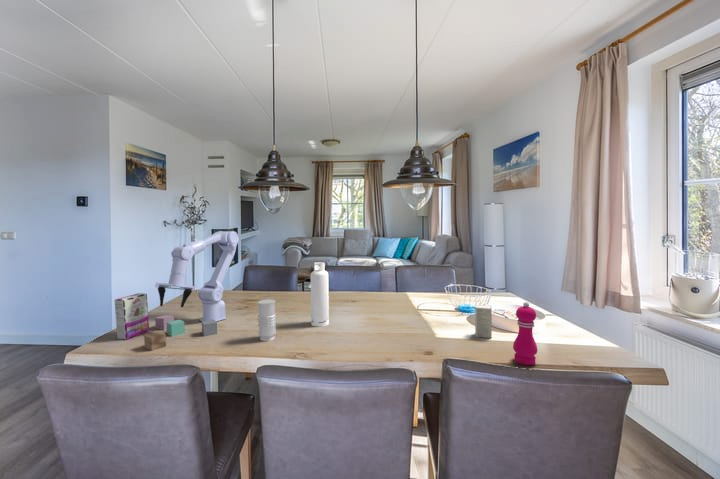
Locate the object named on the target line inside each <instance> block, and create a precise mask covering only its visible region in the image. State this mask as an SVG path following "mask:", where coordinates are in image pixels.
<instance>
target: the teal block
mask: <svg viewBox="0 0 720 479" xmlns="http://www.w3.org/2000/svg"><path fill="white" fill-rule="evenodd" d="M185 332H186V330H185V321H184V320H181V319H174V321H170V322H167V329H166V334H167V335H168V334H169V336H170V335H171V336H170V337H175V335H176V336H179V334H180V335H183V333H184V334H185Z"/></svg>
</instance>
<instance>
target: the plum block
mask: <svg viewBox="0 0 720 479" xmlns="http://www.w3.org/2000/svg"><path fill="white" fill-rule="evenodd" d="M154 319H155V320H154V322H155V330H161V331H165V329H166V330H167V322H170V321H175V315H170V314H163V315H160V316H156V317H155V318H154Z"/></svg>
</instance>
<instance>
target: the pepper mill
mask: <svg viewBox="0 0 720 479" xmlns="http://www.w3.org/2000/svg"><path fill="white" fill-rule="evenodd" d="M515 316H516V318H517V322H516V323H517V326H518V334H517V336H516V338H515V339H514V341H513V343H512V344H513V346H512V349H513V351H514V352H515V353H514V358H513V359H514V361H515V362H517V363H519V364H520V365H525V366H531V365H535V364H536V356H535V355H537V353H538V346H537V342H536V340H535V338H534V336H533V335H534V334H533V328H534V327H535V320H536V318H537V312H536V310H535V309H534V308H532V307H530V303H529V302H528V301H524V302H523V305H522V306H518V308H517V309H516V311H515Z"/></svg>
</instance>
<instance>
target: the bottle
mask: <svg viewBox="0 0 720 479" xmlns="http://www.w3.org/2000/svg"><path fill="white" fill-rule="evenodd" d="M313 263H314V264H313V271H312V272H311V273H310V320H311V321H310V324H311V326H313V327H326V326H328V325H329V324H330V320H329V319H330V305H329V304H330V300H329V299H330V298H329V292H330V291H329V288H330V287H329V285H330V284H329V283H330V282H329V272H328V271H327V270H325V268H326V267H325V264H326V263H325V262H320V261H319V262H318V261H317V262H313Z"/></svg>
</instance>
